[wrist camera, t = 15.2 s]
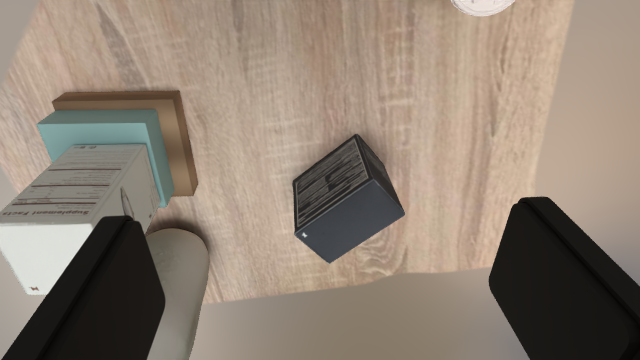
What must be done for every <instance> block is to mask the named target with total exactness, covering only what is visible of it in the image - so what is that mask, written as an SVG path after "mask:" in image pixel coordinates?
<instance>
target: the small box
mask: <svg viewBox="0 0 640 360" xmlns="http://www.w3.org/2000/svg"><path fill="white" fill-rule="evenodd" d="M293 192H294V222H295V232H294V235H295V236H296V237H297V238H298V239H300V240H301V241H302V242H303V243H304V244H306V245H307V246H308V247H309V248H310V249H312V250H313V251H314V252H315V253H316V254H317V255H319V256H320V257H321V258H322V259H323V260H325V261H326V262H327V263H329V264H330V263H331V262H333V261H334V260H336V259H338V258H339V257H341V256H342V255H344V254H345V253H347V252H348V251H350V250H351V249H353V248H354V247H356V246H358V245H359V244H361V243H362V242H364V241H365V240H367V239H368V238H370V237H371V236H373V235H375V234H376V233H378V232H379V231H381V230H382V229H384V228H385V227H387V226H389V225H390V224H392V223H393V222H395V221H396V220H398V219H400V218H401V217H403V216H404V215H405V212H404V210H403V208H402V206H401V204H400V201H399V199H398V197H397V194H396V192H395V190H394V188H393V185H392V183H391V181H390V179H389V176H388V174H387V172H386V169H385V167H384V165H383V163H382V162H381V161H380V160H379V158H378V157H377V156H376V155H375V154H374V153H373V151H372V150H371V149H370V148H369V147H368V146H367V144H366V143H365V142H364V141H363V140H362V138H361V137H360V136H359V135H358V134H355V135H354V136H353V137H352V138H350V139H349V140H347V141H346V142H345V143H343V144H342V145H341V146H339V147H338V148H337V149H335V150H334V151H333V152H331V153H330V154H329V155H327V156H326V157H325V158H323V159H322V160H321V161H319V162H318V163H317V164H315V165H314V166H313V167H311V168H310V169H309V170H307V171H306V172H305V173H303V174H302V175H301V176H299V177H298V178H297V179H295V180H294V181H293Z"/></svg>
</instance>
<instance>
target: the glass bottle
mask: <svg viewBox="0 0 640 360" xmlns="http://www.w3.org/2000/svg"><path fill="white" fill-rule="evenodd" d="M146 240H147V243H148V246H149V249H150V252H151V255H152V258H153V261H154V264H155V267H156V270H157V273H158V276H159V279H160V282H161V285H162V288H163V291H164V294H165V300H166V302H165V309H164V312H163V315H162V318H161V321H160V324H159V327H158V329H157V332H156V335H155V338H154V341H153V344H152V346H151V349H150V352H149V355H148V358H147V360H189V357H190V354H191V351H192V348H193V344H194V340H195V335H196V329H197V325H198V320H199V315H200V310H201V305H202V301H203V297H204V293H205V290H206V285H207V280H208V273H209V255H208V251H207V249H206V246H205V245H204V243H203V241H202V240H201V239H200V238H199V237H198V236H197V235H195V234H194V233H191V232H189V231H185V230H181V229H175V228H169V229H163V230H159V231H156V232H154V233H151V234H150V235H148V236H146Z"/></svg>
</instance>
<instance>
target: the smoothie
mask: <svg viewBox="0 0 640 360" xmlns="http://www.w3.org/2000/svg"><path fill="white" fill-rule="evenodd" d="M450 1H451V2H452V4H453V5H454V6H455V7H456V8H457V9H459V10H460V11H461V12H463V13H466V14H469V15H473V16H489V15H493V14H496V13H498V12H500V11H502V10H504V9H505V8H507V7H508V6H509V5H511V4H512V3H513V2H514V1H515V0H450Z"/></svg>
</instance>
